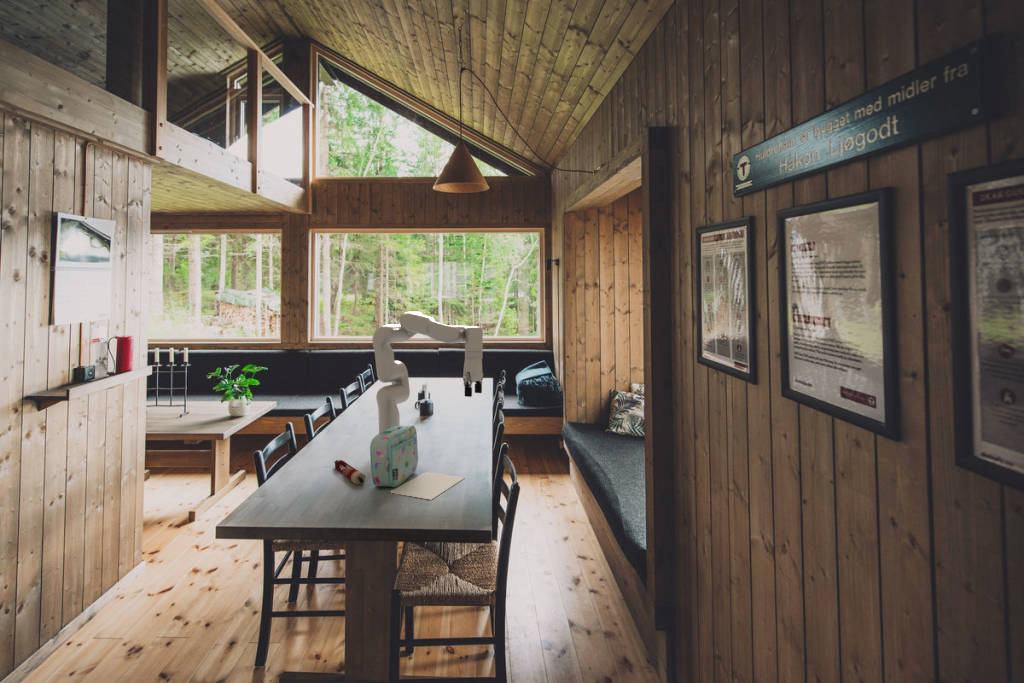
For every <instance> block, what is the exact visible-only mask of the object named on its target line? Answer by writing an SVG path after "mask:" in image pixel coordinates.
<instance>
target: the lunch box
mask: <svg viewBox="0 0 1024 683" xmlns="http://www.w3.org/2000/svg"><path fill="white" fill-rule="evenodd" d="M369 449H370V450H369V454H370V455H369V457H370V471H371V477H372V482H373V484H374V486H375V487H392V488H398V487H399V486H401V484H402V483H403V482H405V481H406V480H407V479H409V478H410V477H411V476H412V474H414V473H415V472H416V469H417V467H418V461H419V452H418V451H419V450H418V436H417V429H416V427H415V425H400V426H394V427H392V428H389V429H387V430H383V431H382V432H381V433H379V432H378V434H376V435H375V436H373V438H372V439H371V441H370V447H369ZM403 484H404V483H403Z"/></svg>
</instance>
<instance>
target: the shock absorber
mask: <svg viewBox="0 0 1024 683" xmlns="http://www.w3.org/2000/svg"><path fill="white" fill-rule="evenodd" d="M334 469H335V470H336V471H338V472H339V473H340V474H342V475H343V476H344V477H346V479H347V478H348V480H350V481H351V482H352V483H353V484H355V485H357V486H359V485H358V484H361V485H363V484H364V483H365V481H366V475H365V474H363V472H361V471H359V470H358V469H356V468H355V467H353V466H352V465H351V464H349V463H347V462H345V460H341V459H339V460H338V459H336V460H335V461H334ZM343 469H344V470H343Z"/></svg>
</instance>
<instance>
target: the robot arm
mask: <svg viewBox="0 0 1024 683" xmlns="http://www.w3.org/2000/svg"><path fill="white" fill-rule="evenodd" d="M483 332H484V331H483V327H481V326H477V325H476V326H468V325H463V324H461V325H447V324H444V323H440V322H437V319H436V318H434V317H432V316H428V315H426V314H424V313H423V312H421V311H407V312H403V313H402V314H401V315H400V317H399V319H398V323H397V324H385V325H381V326H379V327H378V328H377V329H376V330H375V331H374V332H373V335H372V346H373V351H374V358H375V370H376V376H377V378H378V381H379V382H380V383H384V384H387V383H391V384H389V385H384V386H382V387H381V388H379V390H378V391H377V392H376V398H375V399H376V404H377V409H378V434H379V433H381V432H382V431H383V430H387V429H389V428H392V427H394V426H401V425H400V423H401V422H400V419H401V418H400V417H401V416H400V411H399V408H398V405H399V404H402V403H405V402H407V400H408V399H409V397H410V393H411V392H410V391H411V390H410V382H409V380H410V379H409V372H408V368H407V366H406V365H405V363H404V362H403V361H400V360H395V353H394V350H393V348H392V346H391V344H393V343H403V342H404V343H405V342H406V341H408V340H410V339H411V338H412V337H414V336H416V335H417V334H420V335H423V336H426V337H428V338H430V339H433V340H434V341H437V342H441V343H445V344H451V345H452V344H460V343H464V363H463V373H462V374H463V376H462V377H463V378H462V379H463V380H462V381H463V387H464V397H468V398H470V397H473V387H472V386H473V383H474V393H475V394H482V393H483V390H482V389H483V386H482V385H483V378H484V372H483V352H484V351H483V350H484V349H483V347H484V346H483V345H484V344H483V342H484V341H483V334H484V333H483Z"/></svg>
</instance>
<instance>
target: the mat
mask: <svg viewBox="0 0 1024 683" xmlns="http://www.w3.org/2000/svg"><path fill="white" fill-rule="evenodd" d="M464 478H465V477H463V476H455V475H450V474H443V473H437V472H430V471H426V472H423V473H422V474H420V475H418V476H416V477H414V478H412V479H410V480H409V481H407V482H405V483H403V484H402V485H401V484H400V485H399V486H397V487H395V488H394V489H392V490H391V491H392V492H391V491H389V492H391V493H390V494H392V493H393V492H394V493H395V494H394V495H397V494H401V495H400V496H403V495H406V496H405V497H409V496H412V497H411V498H414V497H417V499H420V498H423V499H422V500H426V499H429V500H428V501H432V499H433V498H434V499H436V498H437V497H439V496H440V495H442V494H444V493H445V492H446V491H448V490H449V489H452V488H453V487H454V486H456V485H457V484H459V483H460V482H462V481H464V480H465V479H464ZM461 480H462V481H461ZM458 482H459V483H458ZM455 484H456V485H455ZM453 485H454V486H453ZM452 486H453V487H452ZM444 491H445V492H444ZM441 493H442V494H441ZM438 495H439V496H438ZM436 496H437V497H436ZM435 497H436V498H435ZM434 499H433V500H434Z"/></svg>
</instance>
